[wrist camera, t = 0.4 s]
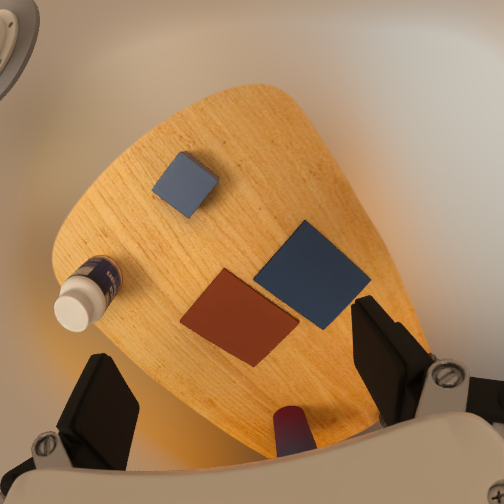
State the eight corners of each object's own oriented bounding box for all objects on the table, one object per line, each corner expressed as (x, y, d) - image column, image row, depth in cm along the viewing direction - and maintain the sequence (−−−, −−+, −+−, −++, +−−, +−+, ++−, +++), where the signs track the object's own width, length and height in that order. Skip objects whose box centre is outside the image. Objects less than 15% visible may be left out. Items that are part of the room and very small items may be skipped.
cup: (307, 398, 44) (332, 475, 29) (309, 422, 46) (330, 493, 32) (265, 407, 43) (278, 487, 29) (270, 430, 46) (283, 504, 32)
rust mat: (179, 320, 37) (179, 322, 36) (223, 267, 35) (223, 269, 35) (253, 365, 40) (254, 367, 40) (299, 320, 38) (299, 322, 38)
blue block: (160, 184, 31) (151, 190, 27) (186, 150, 30) (180, 151, 26) (193, 209, 33) (188, 219, 28) (219, 176, 32) (218, 181, 27)
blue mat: (253, 278, 36) (253, 280, 35) (304, 219, 34) (305, 220, 34) (322, 328, 39) (323, 330, 39) (369, 278, 37) (371, 280, 37)
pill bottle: (129, 291, 35) (103, 336, 26) (93, 297, 35) (61, 340, 26) (115, 250, 33) (82, 285, 24) (78, 258, 33) (40, 294, 24)
